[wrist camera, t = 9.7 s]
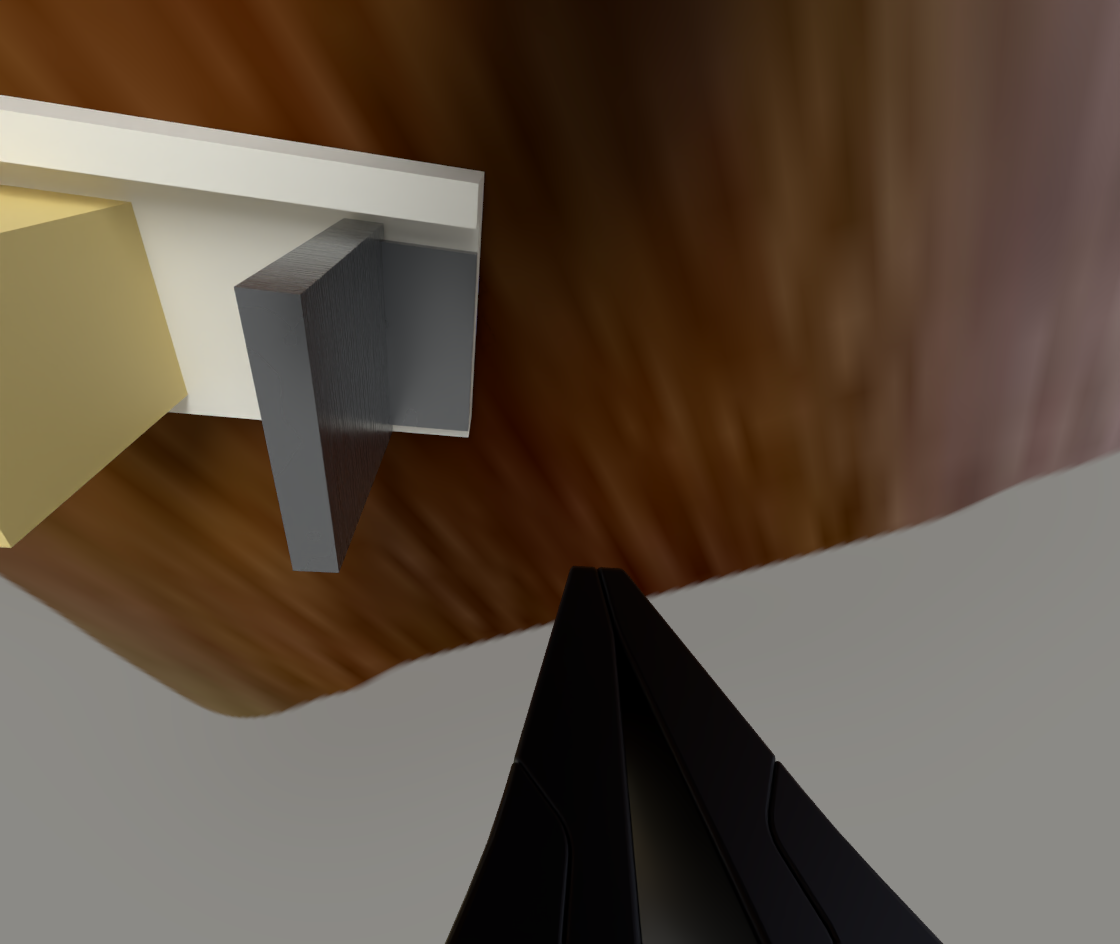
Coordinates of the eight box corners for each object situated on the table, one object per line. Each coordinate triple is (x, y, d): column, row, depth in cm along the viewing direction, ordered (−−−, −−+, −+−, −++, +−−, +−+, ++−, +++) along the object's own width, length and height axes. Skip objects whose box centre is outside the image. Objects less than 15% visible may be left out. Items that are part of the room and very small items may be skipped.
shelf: (484, 171, 15) (466, 210, 9) (471, 416, 19) (453, 546, 13) (-391, 33, 12) (-1240, -42, 6) (-165, 359, 16) (-531, 492, 11)
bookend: (478, 236, 14) (456, 313, 9) (468, 437, 18) (448, 577, 12) (344, 217, 13) (233, 287, 8) (361, 428, 17) (293, 570, 12)
